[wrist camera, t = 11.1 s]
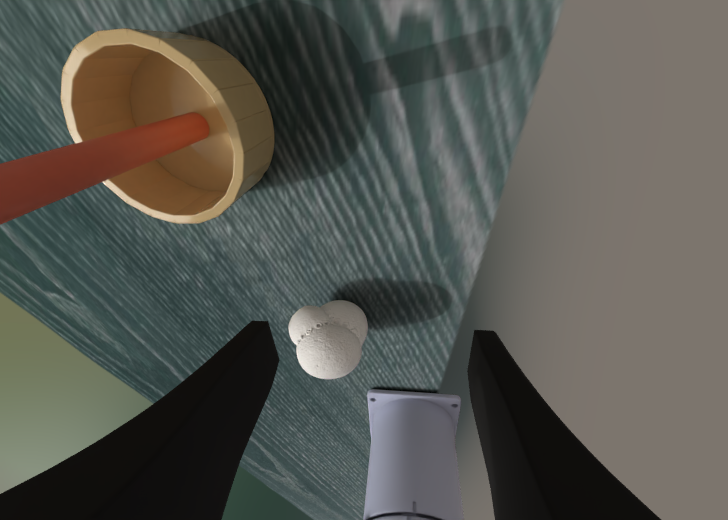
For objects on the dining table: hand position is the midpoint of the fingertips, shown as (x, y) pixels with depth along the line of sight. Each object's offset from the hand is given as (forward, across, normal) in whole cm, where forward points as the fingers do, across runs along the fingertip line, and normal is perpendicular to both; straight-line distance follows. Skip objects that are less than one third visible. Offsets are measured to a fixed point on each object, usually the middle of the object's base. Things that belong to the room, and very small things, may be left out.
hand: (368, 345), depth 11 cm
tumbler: (+10, +10, -6) cm, 15 cm away
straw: (+9, +10, -6) cm, 15 cm away
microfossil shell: (+10, +4, +7) cm, 13 cm away
